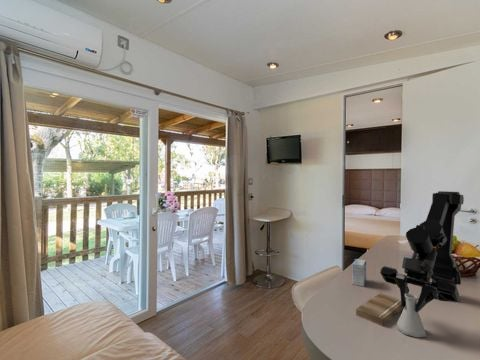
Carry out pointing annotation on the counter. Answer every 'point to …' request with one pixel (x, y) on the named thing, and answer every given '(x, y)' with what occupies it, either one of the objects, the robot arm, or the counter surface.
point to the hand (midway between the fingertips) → (409, 309)
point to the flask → (411, 318)
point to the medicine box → (359, 272)
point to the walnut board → (380, 309)
